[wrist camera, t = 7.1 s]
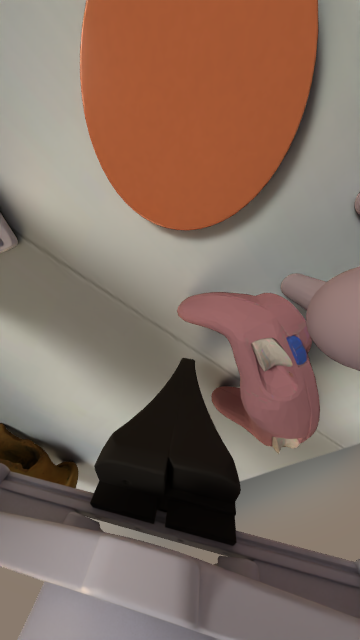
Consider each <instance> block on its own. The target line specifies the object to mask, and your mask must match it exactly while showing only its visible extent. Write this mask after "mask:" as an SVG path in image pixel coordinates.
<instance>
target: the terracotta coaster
mask: <svg viewBox="0 0 360 640" xmlns="http://www.w3.org/2000/svg"><path fill="white" fill-rule="evenodd" d="M317 39H318V0H87V1H86V6H85V12H84V18H83V24H82V33H81V46H80V80H81V92H82V101H83V107H84V113H85V119H86V123H87V127H88V131H89V135H90V138H91V141H92V144H93V147H94V150H95V153H96V155H97V158H98V160H99V162H100V164H101V167H102V169H103V171H104V172H105V174H106V176H107V178H108V180H109V181H110V183H111V184H112V186H113V187H114V189H115V190H116V192H117V193H118V194H119V195H120V197H121V198H122V199H123V200H124V201H125V202H126V203H127V204H128V205H129V206H130V207H131V208H132V209H133V210H134V211H135V212H137V213H138V214H139V215H141V216H142V217H144V218H145V219H147V220H149V221H151V222H153V223H154V224H157V225H160V226H162V227H165V228H170V229H175V230H196V229H202V228H206V227H210V226H212V225H215V224H217V223H220V222H222V221H224V220H226V219H227V218H229V217H231V216H233V215H234V214H236V213H237V212H238V211H240V210H241V209H242V208H244V207H245V206H246V205H247V204H248V203H249V202H250V201H251V200H253V199H254V198H255V197H256V196H257V195H258V193H259V192H260V191H261V190H262V189H263V188H264V187H265V185H266V184H267V183H268V182H269V180H270V179H271V177H272V176H273V175H274V173H275V172H276V170H277V169H278V167H279V166H280V164H281V162H282V160H283V159H284V157H285V155H286V153H287V152H288V150H289V148H290V145H291V143H292V141H293V139H294V137H295V135H296V132H297V130H298V127H299V124H300V122H301V119H302V116H303V113H304V111H305V107H306V103H307V100H308V96H309V92H310V88H311V84H312V78H313V73H314V67H315V61H316V52H317Z"/></svg>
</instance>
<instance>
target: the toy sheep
mask: <svg viewBox="0 0 360 640" xmlns="http://www.w3.org/2000/svg"><path fill="white" fill-rule="evenodd" d="M355 210H356V212H357V213H358V214H359V215H360V193H359V194H358V195H357V198H356V200H355ZM281 291H282V293H283V294H284V295H285V296H287V297H288V298H290V299H291V300H292V301H294V302H295V303H297V304H298V305H300V306H301V307H302V308H304V309H305V310H307V313H306V324H307V329H308V332H309V334H310V337H311V338H312V340H313V342H314V343H315V344H316V346H317V347H318V348H319V349H320V350H321V351H322V352H323V353H325V354H326V355H327V356H328V357H330V358H331V359H333V360H335V361H337V362H338V363H340V364H342V365H345V366H347V367H350V368H353V369H356V370H359V371H360V266H359V267H356V268H353V269H350V270H348V271H345V272H343V273H341V274H339V275H337V276H335V277H334V278H332V279H330V280H329V281H328V282H325V281H322V280H318V279H315V278H312V277H308V276H305V275H302V274H298V273H296V274H291V275H288V276H287V277H286V278H285V279H284V280H283V281H282V283H281Z"/></svg>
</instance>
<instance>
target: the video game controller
mask: <svg viewBox="0 0 360 640" xmlns="http://www.w3.org/2000/svg"><path fill="white" fill-rule="evenodd" d="M177 312H178V315H179V317H181V318H182V319H183V320H184V321H187V322H189V323H192V324H196V325H200V326H203V327H207V328H210V329H212V330H215V331H217V332H219V333H221V334H223V335H224V336H225V337H226V338H227V339H228V340H229V342H230V344H231V347H232V350H233V354H234V358H235V361H236V364H237V367H238V370H239V373H240V388H238V387H230V386H222V387H218V388H216V389H215V390H214V391H213V392H212V396H211V397H212V402H213V404H214V406H215V407H216V409H217V410H218V411H219V412H220V413H222V414H223V415H224V416H226V417H227V418H229V419H231V420H232V421H234V422H236V423H237V424H239V425H241V426H242V427H244V428H245V429H246V430H247V431H249V432H250V433H251V434H252V435H254V436H255V437H256V438H257V439H258V440H259V441H260V442H262V443H263V444H264V445H266V446H273V447H274V449H275V451H276V452H277V453H278V454H279V452H280V450H281V447H290V448H296V447H298V446H299V444H300V443H302V442H304V441H305V440H307V439H308V438H309V437H311V436H312V435H313V434H314V432H315V431H316V429H317V426H318V422H319V415H320V405H319V394H318V389H317V384H316V379H315V375H314V372H313V369H312V366H311V363H310V360H309V357H308V352H309V351H310V349H311V344H312V340H311V337H310V334H309V332H308V329H307V324H306V321H305V319H304V317H303V316H302V315H301V313H300V312H299V311H298V310H297V309H296V308H295V306H294V305H293V304H292V303H290V302H289V301H288V300H286V299H285V298H283V297H281V296H279V295H276V294H272V293H263V294H260V295H257V296H252V295H248V294H237V293H226V292H211V293H203V294H198V295H194V296H191V297H188V298H187V299H185V300H184V301H183V302H182V303H181V304H180V305H179V306H178V310H177Z"/></svg>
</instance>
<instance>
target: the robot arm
mask: <svg viewBox="0 0 360 640" xmlns="http://www.w3.org/2000/svg"><path fill="white" fill-rule="evenodd" d="M17 243H18V241H17V238H16V236H15V235H14V233H13V232H12V230H11V229H10V227H9V225H8V224H7V222H6V221H5V219H4V218H3V216H2V215H1V213H0V253H2V252H4V251H7V250H9V249H11V248H14V247H16V246H17ZM95 471H96V473H97V476H98V478H99V480H100V481H99V483H98V485H97V488H96V490H95V492H94V493H91V492H87V491H83V490H80V489H76V488H72V487H68V486H64V485H61V484H57V483H53V482H49V481H45V480H42V479H38V478H34V477H30V476H26V475H23V474H19V473H15V472H11V471H10V470H9V468H8V467H7V466H6V465H4V464H2V463H0V566H1V567H3V568H6V569H9V570H12V571H15V572H18V573H21V574H24V575H27V576H30V577H33V578H36V579H39V580H41V581H44V584H43V586H42V589H41V591H40V593H39V595H38V597H37V599H36V601H35V604H34V606H33V608H32V610H31V612H30V614H29V616H28V618H27V621H26V623H25V625H24V627H23V629H22V631H21V633H20V636H19V637H18V640H360V559H358V560H356V562H353V561H349V560H345V559H342V558H338V557H334V556H330V555H326V554H322V553H319V552H315V551H311V550H307V549H304V548H300V547H296V546H292V545H288V544H284V543H281V542H277V541H273V540H270V539H266V538H262V537H258V536H254V535H250V534H246V533H243V532H239V531H236V528H235V515H236V509H235V501H236V499H237V498H238V496H239V494H240V491H241V489H240V482H239V477H238V473H237V470H236V466H235V463H234V460H233V458H232V456H231V455H230V453H229V451H228V450H227V448H226V446H225V445H224V443H223V441H222V439H221V437H220V436H219V434H218V432H217V430H216V428H215V426H214V424H213V422H212V420H211V418H210V415H209V413H208V411H207V408H206V406H205V403H204V400H203V398H202V394H201V391H200V388H199V384H198V380H197V376H196V370H195V360H193V359H187V358H182V359H181V361H180V363H179V365H178V367H177V369H176V371H175V372H174V374H173V375H172V377H171V378H170V380H169V381H168V382H167V383H166V385H165V386H164V387H163V389H162V390H161V391H160V392H159V393H158V394H157V396H156V397H155V398H154V399H153V400H152V401H151V402H150V403H149V404H148V405H147V406H146V407H145V408H144V409H143V410H141V411H140V412H139V413H138V414H137V415H136V416H134V417H133V418H132V419H131V420H130V421H128V422H127V423H126V424H125V425H123V426H122V427H120V428H119V429H118V430H116V431H115V432H114V433H113V434H112V435H111V437H110V438H109V439H108V441H107V443H106V444H105V446H104V447H103V449H102V451H101V453H100V455H99V457H98V459H97V461H96V464H95ZM85 516H86V517H85ZM88 517H89V518H88ZM90 518H93V519H97V520H100V521H104V522H108V523H111V524H114V525H118V526H122V527H125V528H129V529H133V530H136V531H139V532H143V533H147V534H150V535H154V536H157V537H161V538H164V539H168V540H171V541H175V542H178V543H182V544H185V545H189V546H193V547H196V548H200V549H203V550H207V551H211V552H214V553H218V554H221V555H225V556H228V557H225V556H219V557H218V563H217V564H214V565H212V564H210V563H207V562H205V561H202V560H199V559H197V558H194V557H191V556H188V555H185V554H182V553H180V552H177V551H174V550H171V549H167V548H164V547H161V546H158V545H154V544H151V543H147V542H144V541H140V540H136V539H132V538H128V537H124V536H120V535H115V534H110V533H105V532H103V531H102V530H101V528H100V524H99V522H96V521H94V520H92V519H90Z"/></svg>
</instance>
